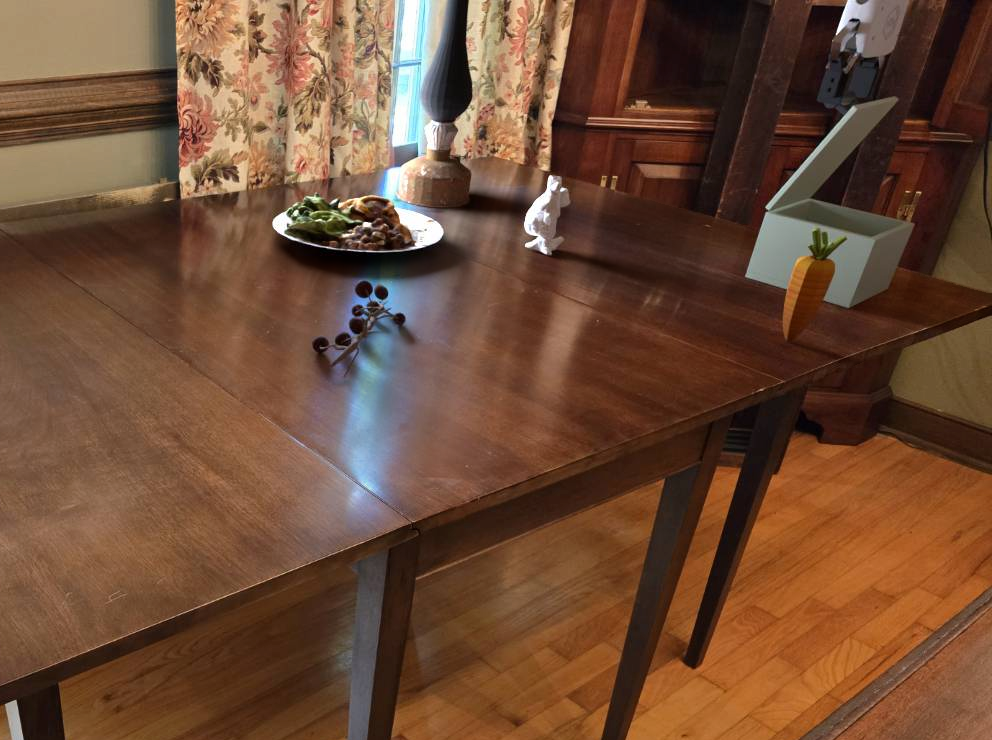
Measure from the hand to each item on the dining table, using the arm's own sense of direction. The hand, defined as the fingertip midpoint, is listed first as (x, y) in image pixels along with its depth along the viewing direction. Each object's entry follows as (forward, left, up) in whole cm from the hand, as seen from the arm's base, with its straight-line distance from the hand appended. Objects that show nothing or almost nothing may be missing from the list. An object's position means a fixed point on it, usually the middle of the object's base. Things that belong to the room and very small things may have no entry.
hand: (843, 100), depth 137 cm
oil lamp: (+61, +15, -26) cm, 68 cm away
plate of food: (+51, +45, -26) cm, 73 cm away
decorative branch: (+20, +75, -26) cm, 82 cm away
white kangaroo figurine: (+30, +23, -26) cm, 46 cm away
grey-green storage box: (-5, 0, -25) cm, 26 cm away
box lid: (-1, 0, -7) cm, 8 cm away
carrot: (-14, +27, -26) cm, 40 cm away
